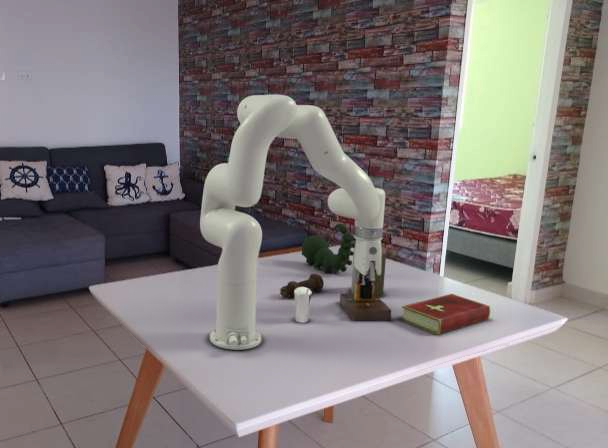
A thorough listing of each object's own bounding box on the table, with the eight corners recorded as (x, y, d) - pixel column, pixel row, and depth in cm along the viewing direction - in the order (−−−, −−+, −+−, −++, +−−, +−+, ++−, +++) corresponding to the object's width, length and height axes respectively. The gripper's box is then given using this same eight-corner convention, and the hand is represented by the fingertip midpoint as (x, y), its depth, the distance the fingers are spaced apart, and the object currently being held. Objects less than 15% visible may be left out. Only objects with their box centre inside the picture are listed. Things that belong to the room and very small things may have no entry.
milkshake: (298, 325, 147) (300, 289, 145) (290, 318, 152) (291, 282, 150) (314, 323, 148) (316, 287, 146) (305, 316, 153) (307, 281, 151)
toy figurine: (356, 280, 192) (309, 257, 213) (363, 227, 187) (314, 208, 207) (335, 284, 187) (289, 260, 208) (342, 229, 182) (294, 210, 203)
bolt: (280, 303, 168) (315, 292, 177) (291, 299, 164) (326, 288, 173) (274, 285, 170) (309, 275, 178) (284, 280, 166) (319, 271, 174)
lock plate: (390, 320, 151) (391, 309, 151) (353, 320, 151) (354, 309, 150) (373, 302, 165) (374, 292, 164) (339, 302, 165) (340, 292, 164)
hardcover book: (489, 320, 152) (491, 305, 151) (439, 335, 142) (440, 319, 141) (450, 306, 162) (451, 292, 161) (400, 319, 152) (402, 305, 151)
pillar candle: (390, 295, 171) (393, 248, 168) (363, 299, 168) (366, 250, 165) (369, 286, 180) (373, 240, 177) (344, 289, 177) (347, 243, 173)
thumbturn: (371, 298, 159) (372, 282, 158) (373, 300, 157) (374, 284, 156) (353, 298, 159) (354, 282, 158) (355, 301, 157) (357, 284, 156)
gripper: (392, 239, 147) (387, 306, 150) (372, 226, 162) (368, 287, 166) (364, 239, 146) (359, 306, 150) (346, 226, 162) (342, 287, 166)
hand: (364, 296), depth 158 cm, fingers closed on thumbturn, 2 cm apart
